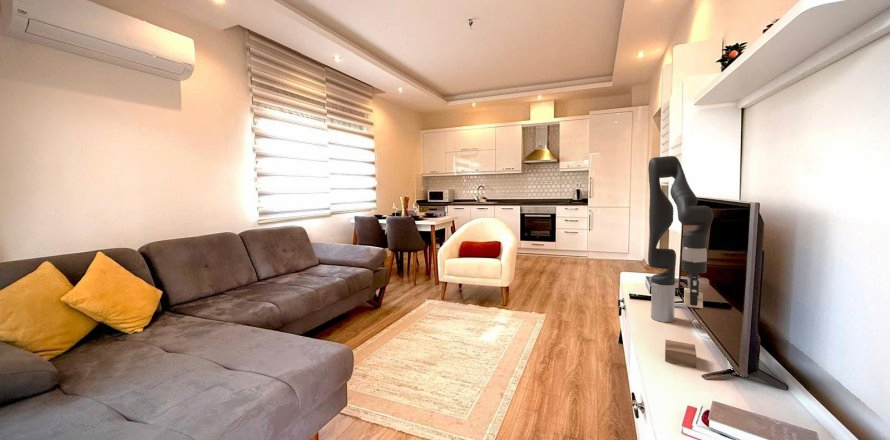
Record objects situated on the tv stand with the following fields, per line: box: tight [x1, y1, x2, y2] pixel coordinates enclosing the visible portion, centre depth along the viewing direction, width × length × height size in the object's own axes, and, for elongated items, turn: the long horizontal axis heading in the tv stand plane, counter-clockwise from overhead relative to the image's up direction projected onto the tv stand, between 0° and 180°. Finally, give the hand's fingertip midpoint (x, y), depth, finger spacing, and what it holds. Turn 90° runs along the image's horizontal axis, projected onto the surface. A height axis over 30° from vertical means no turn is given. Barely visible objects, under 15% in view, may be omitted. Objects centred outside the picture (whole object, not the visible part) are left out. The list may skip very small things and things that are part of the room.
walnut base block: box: [664, 339, 697, 368], centre depth 124 cm, size 9×9×4 cm
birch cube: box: [683, 287, 704, 309], centre depth 130 cm, size 6×6×6 cm
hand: (693, 302), depth 130 cm, fingers closed on birch cube, 5 cm apart
